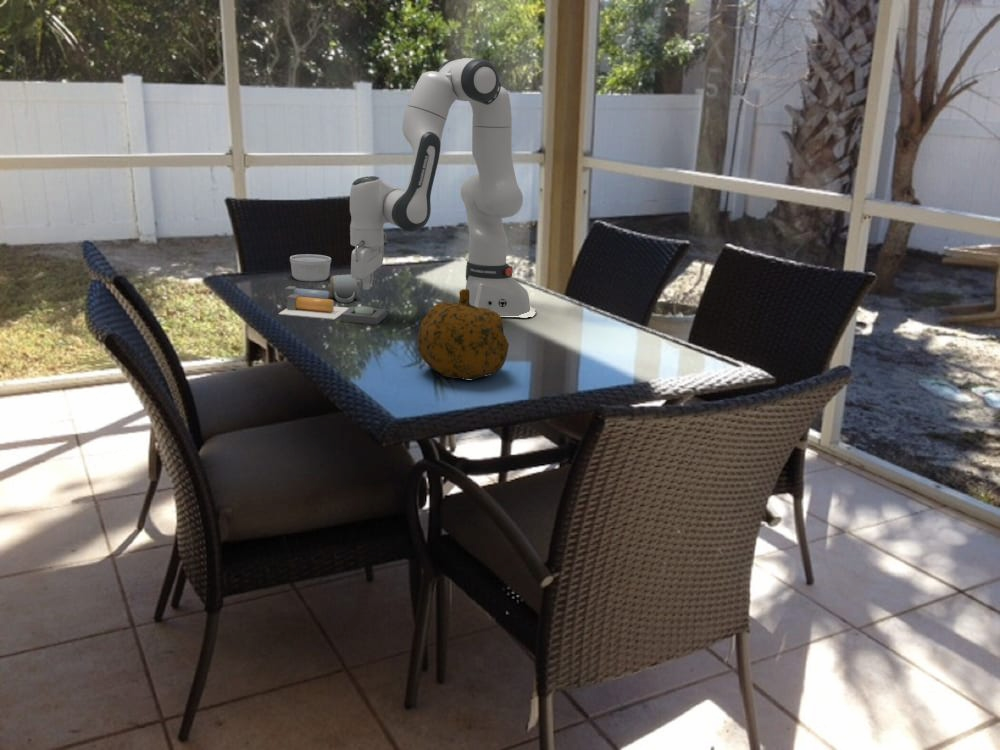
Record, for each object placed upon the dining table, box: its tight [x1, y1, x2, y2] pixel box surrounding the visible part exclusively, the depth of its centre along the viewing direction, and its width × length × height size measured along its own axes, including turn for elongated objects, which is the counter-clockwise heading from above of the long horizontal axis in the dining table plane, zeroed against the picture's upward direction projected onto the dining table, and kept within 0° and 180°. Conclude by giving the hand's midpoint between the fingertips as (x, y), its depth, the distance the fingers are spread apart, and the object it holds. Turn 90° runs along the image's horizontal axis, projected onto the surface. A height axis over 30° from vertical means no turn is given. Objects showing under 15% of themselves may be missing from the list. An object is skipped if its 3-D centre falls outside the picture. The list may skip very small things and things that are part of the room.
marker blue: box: [284, 285, 331, 301], centre depth 277 cm, size 12×4×4 cm, turn 82°
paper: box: [278, 305, 350, 321], centre depth 265 cm, size 16×14×1 cm
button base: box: [340, 306, 387, 325], centre depth 260 cm, size 10×10×2 cm
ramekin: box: [289, 253, 332, 282], centre depth 308 cm, size 13×13×7 cm
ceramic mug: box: [329, 273, 358, 304], centre depth 281 cm, size 10×8×7 cm
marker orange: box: [286, 294, 335, 312], centre depth 265 cm, size 12×4×4 cm, turn 82°
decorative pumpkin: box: [417, 288, 510, 380], centre depth 214 cm, size 20×21×20 cm
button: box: [355, 305, 374, 315], centre depth 260 cm, size 5×5×2 cm
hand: (367, 288), depth 258 cm, fingers closed
